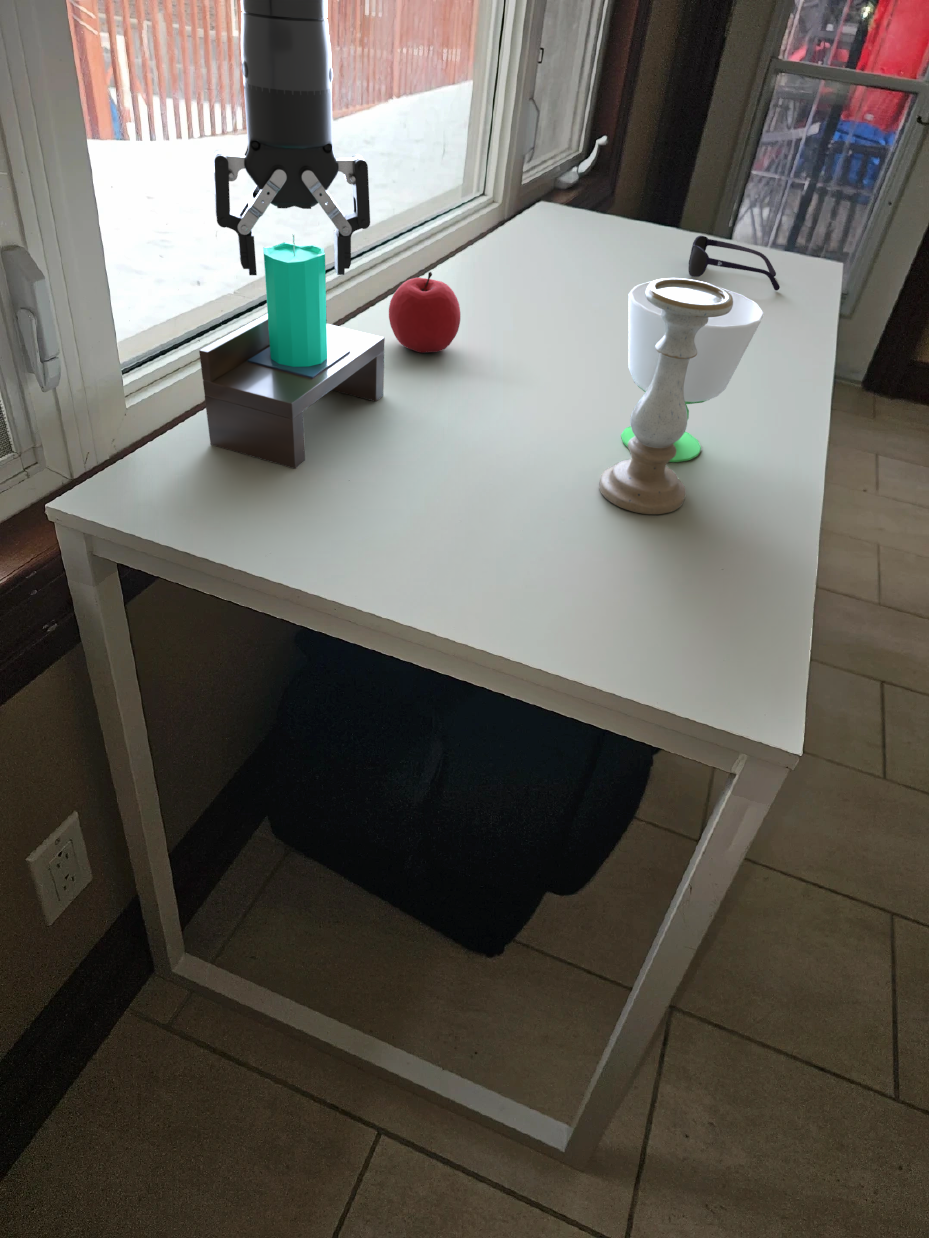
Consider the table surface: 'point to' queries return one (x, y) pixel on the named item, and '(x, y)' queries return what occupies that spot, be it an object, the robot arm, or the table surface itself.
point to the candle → (296, 304)
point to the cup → (705, 371)
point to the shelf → (280, 388)
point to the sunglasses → (701, 260)
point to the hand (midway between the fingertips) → (296, 273)
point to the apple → (424, 314)
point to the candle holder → (664, 400)
